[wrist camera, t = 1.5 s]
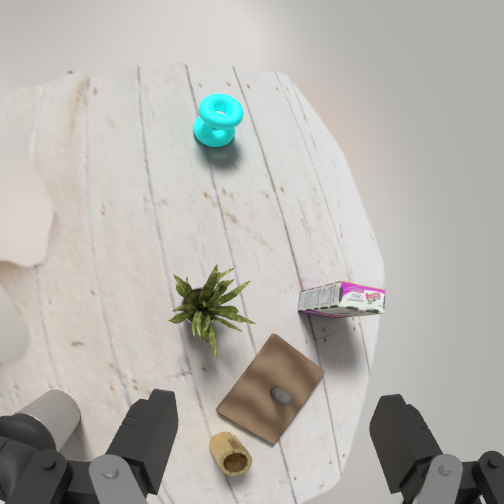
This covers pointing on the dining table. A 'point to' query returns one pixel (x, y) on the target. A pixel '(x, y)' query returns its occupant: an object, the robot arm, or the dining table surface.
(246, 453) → the brass sleeve
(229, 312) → the house plant
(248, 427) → the post plate
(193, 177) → the dining table surface
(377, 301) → the candy bar box
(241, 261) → the dining table surface
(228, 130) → the donuts
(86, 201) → the dining table surface
